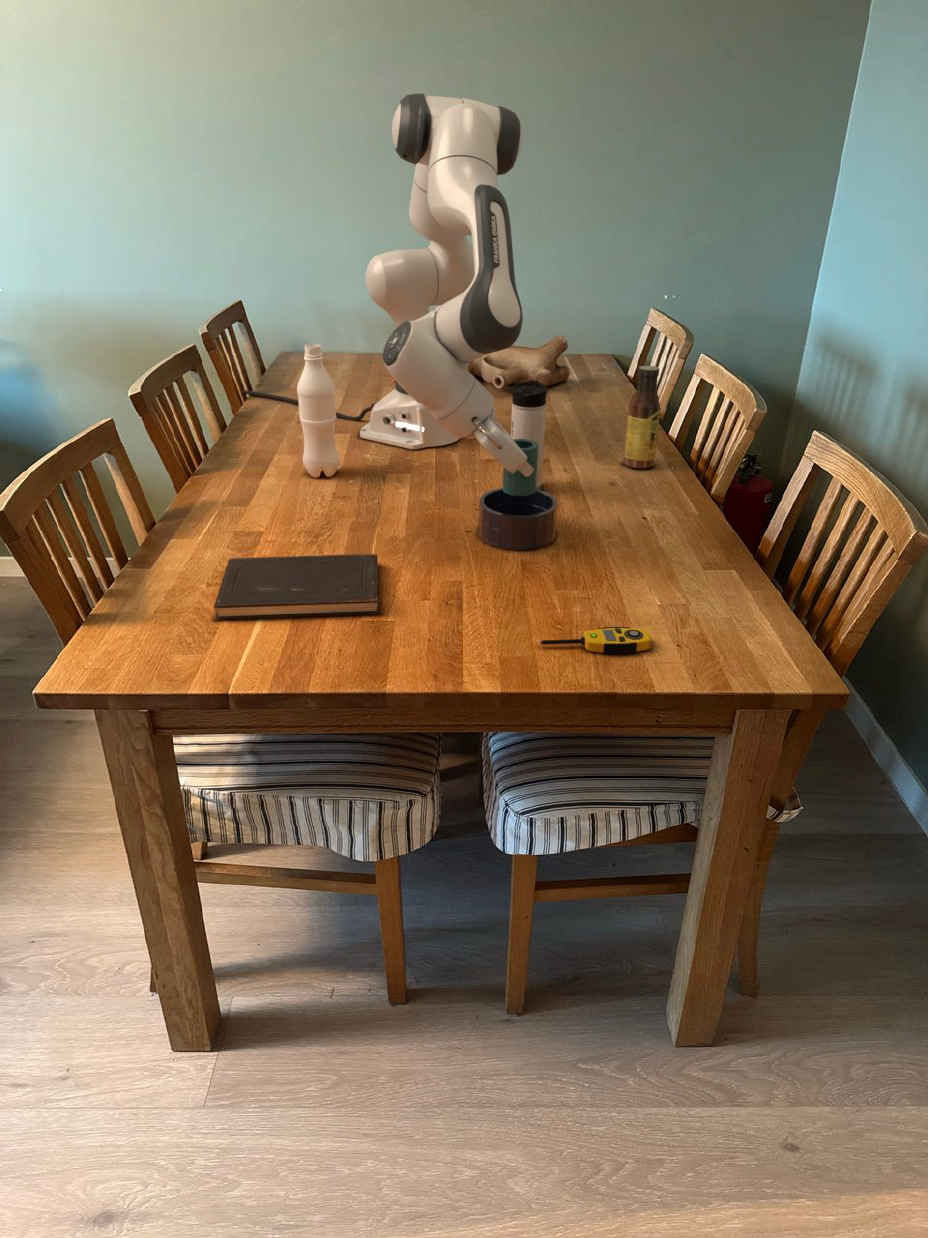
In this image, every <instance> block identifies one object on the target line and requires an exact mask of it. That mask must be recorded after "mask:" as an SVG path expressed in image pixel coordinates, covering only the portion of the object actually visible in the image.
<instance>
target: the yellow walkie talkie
mask: <svg viewBox="0 0 928 1238" xmlns="http://www.w3.org/2000/svg"><path fill="white" fill-rule="evenodd" d="M540 644H541V645H569V644H571V645H573V644H581V646H584V648H585V650H587V652H594V653H603V654H606V655H628V654H629V655H630V654H635V653H637V652H642V651H647V650H649V649H650V647H651V644H652V639H651V635H650V633H649V632H648V631H647V630H646V629H641V628H633V627H631V628H630V627H629V626H604V627H598V628H597V629H596V628H595V629H591V630H586V631H584V633H583V637H582V636H581V638H577V639H576V638H573V639H543V640H541V641H540Z"/></svg>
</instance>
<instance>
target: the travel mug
mask: <svg viewBox="0 0 928 1238" xmlns="http://www.w3.org/2000/svg"><path fill="white" fill-rule="evenodd" d="M547 390H548V389H547V386H545V385H543V384H541V383H539V381H535V380H530V381H529V382H522V383H519V384H515V385H513V387H512V400H511V419H510V420H511V421H510V426H511V427H510V436H511V437H512V439H527V440H532V441H534V442H536V443H537V444H538V462H537V481H536V489H537V490H541V489H542V483H543V482H542V479H543V464H544V447H545V444H544V443H545V428H546V411H547V407H546V406H547Z"/></svg>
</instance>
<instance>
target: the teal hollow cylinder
mask: <svg viewBox="0 0 928 1238" xmlns="http://www.w3.org/2000/svg"><path fill="white" fill-rule="evenodd" d="M513 440H514V441H515V442H516V444H517V445H518V446H519V447H520V448H521V450H522V451H523V452H524V453H525V455H526V456H527V460H526V461H527V462H528V463H529V464H530V465H531V466H532V467H533V469H534V471H533V472H532V473H531V474H530V475H529V476H528V477H526V476H525V475H523V474H522V473H521V472H520V471H519V470H517V471H516V472H515V473H510V472H509V471H507V470H506V469H505V468H504V467H503V466H502V488H503V491H504V492H505V493H506V494H509V495H512V496H528V495H532V494H534V493H535V491H536V481H537V462H538V444H537V443H536V442H534V441H532V440H527V439H513Z"/></svg>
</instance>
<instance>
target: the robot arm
mask: <svg viewBox="0 0 928 1238" xmlns="http://www.w3.org/2000/svg"><path fill="white" fill-rule="evenodd" d="M391 135H392V140H393V144H394V149H395V152H396V154H397V155H398V156H399V158H400V159H401V160H403V161H405V162H407V163H410V164H413V165H415V168H414V172H413V173H414V174H413V181H412V182H413V183H412V187H411V195H410V201H409V208H408V217H409V221H410V224H411V226H412V228H413V229H414V230H415V231H416V233H418V234H419V235H420V236H422V237H423V238H424V239H426V240H428V241H429V242H430V243H429V245H428V246H427V247H424V248H411V249H395V250H391V251H387V252H384V253H380V254H377V255H375V256H373V257H372V258H371V259H370V261H369V263H368V265H367V267H366V269H365V279H364V281H365V287H366V291H367V293H368V295H369V297H370V299H371V300H372V301H373V302H374V303H375V304H376V305H377V306H378V307H380V308H381V309H382V310H384V311H385V313H387V314H388V316H389V317H390V318H391V320H392V321H393V323H394V325H395V328H394V330H393V331H392V333H391V334H390V335H389V336H388V337H387V340H386V342H385V344H384V347H383V351H382V362H383V365H384V367H385V369H386V370H387V372H388V373H389V374H390V376H391V384H394V386H395V387H394V389H392V390H391V391H390V392H388V393H387V394H386V395H385V396H383V397H382V398H381V399H380V400H378V401H376V402H373V403H371V404H370V406H367V407H365V408H364V409H362V411H361V413H360V414H359V415H358V416H349V415H346V414H343V413H340V412H337V411H336V418H340V419H342V420H343V419H344V420H348V421H354V422H355V421H356V422H357V421H361V420H362V419H363V418H364V417H365V415H366V414H367V413H368V412H370V415H369V422H367V423H366V424H365V425H363V426H362V427H361V428H360V430H359V437H360V438H361V439H364V440H368V441H373V442H378V443H382V444H386V445H392V446H395V447H400V448H405V449H409V450H419V449H424V448H428V447H429V448H431V447H441V446H446V445H450V444H453V443H455V442H457V441H459V440H460V439H463V438H467V439H468V440H473V439H475V438H476V439H477V441H478V442H479V444H480V445H481V446H482V447H483V448H484V449H485V451H487V452H488V453H489V454H490V456H492V457H493V458H494V459H495V461H497V462H498V464H500V465H501V466H502V468H503V467H504V468H505V469H506V470H507V471H509V472H510V473H515V472H516V471H517V470H519V471H520V472H521V473H522V474H523V475H525V476H526V477H528V476H529V475H530V474H531V473H532V472H533V471H534V469H533V467H532V466H531V465H530V464H529V463H528V462H527V461H526V460H527V456H526V455H525V453H524V452H523V451H522V450H521V448H520V447H519V446H518V445H517V444H516V442H515V441H514V440H513V439H512V437H511V434H509V432H508V431H507V430H506V429H505V428H504V426H503V425H502V424H501V423H500V422H499V420H498V419H497V417H496V412H497V411H496V408H494V404H495V397H494V395H493V394H492V393H490V391H489V390H488V389H487V388H486V387H485V386H484V385H483V384H482V383H481V382H480V381H479V380H478V379H477V378H476V376H475V375H472V374H470V373H469V372H468V366H469V364H470V362H471V361H473V360H476V359H478V358H480V357H482V356H484V355H487V354H490V353H494V352H497V351H500V350H503V349H506V348H509V347H510V346H512V345H514V344H515V343H516V341H517V340H518V339H519V337H520V334H521V331H522V328H523V327H522V326H523V318H524V317H523V308H522V305H521V304H522V303H521V299H520V296H519V292H518V288H517V282H516V273H515V263H514V262H515V261H514V252H513V239H512V238H513V237H512V226H511V218H510V217H511V216H510V211H509V206H508V204H507V200H506V198H505V196H504V194H503V193H502V192H501V191H500V190H499V189H498V176H502V175H503V176H504V175H506V174H507V173H508V172H510V171H511V170H512V169H513V168H514V167H515V164H516V161H517V160H518V158H519V156H520V153H521V149H522V142H523V141H522V140H523V137H522V129H521V121H520V119H519V117H518V115H517V113H516V112H514V111H513V110H511V109H509V108H506V107H505V106H502V105H498V106H494V105H492V104H489V103H485V102H482V101H478V100H474V99H470V98H465V97H462V98H458V97H451V96H439V95H425V93H410V94H406V95H405V96H404V97H403V98H402V99H401V100H400V101H399V105H398V107H397V108H396V109H395V113H394V115H393V118H392V123H391ZM468 236H471V239H472V245H471V243H470V241H469V238H468ZM432 306H436V307H435V308H433V309H432V310H431V311H430V307H432ZM241 392H242V395H243V394H244V395H249V396H256V397H262V398H267V399H273V400H278V401H283V402H287V403H292V404H295V405H299V401H298V399H294V398H290V397H286V396H282V395H277V394H271V393H266V392H259V391H253V390H245V389H242V391H241Z"/></svg>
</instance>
